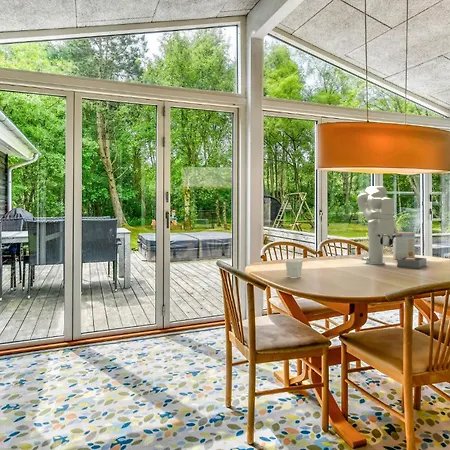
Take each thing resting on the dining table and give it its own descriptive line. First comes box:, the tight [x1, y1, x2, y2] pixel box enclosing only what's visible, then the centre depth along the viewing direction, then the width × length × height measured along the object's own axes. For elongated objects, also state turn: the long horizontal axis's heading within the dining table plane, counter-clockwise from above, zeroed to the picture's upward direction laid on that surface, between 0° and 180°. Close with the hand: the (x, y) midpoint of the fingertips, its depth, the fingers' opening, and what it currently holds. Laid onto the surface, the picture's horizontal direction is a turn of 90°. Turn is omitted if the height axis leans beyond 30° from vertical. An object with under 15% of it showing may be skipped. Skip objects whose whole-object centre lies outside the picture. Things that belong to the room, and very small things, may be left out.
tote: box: [396, 256, 427, 270], centre depth 256 cm, size 18×14×5 cm
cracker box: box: [392, 231, 416, 261], centre depth 285 cm, size 14×6×21 cm, turn 84°
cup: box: [284, 258, 303, 277], centre depth 221 cm, size 10×10×10 cm
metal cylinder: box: [382, 234, 392, 247], centre depth 247 cm, size 5×5×7 cm
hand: (386, 244), depth 247 cm, fingers closed on metal cylinder, 5 cm apart
